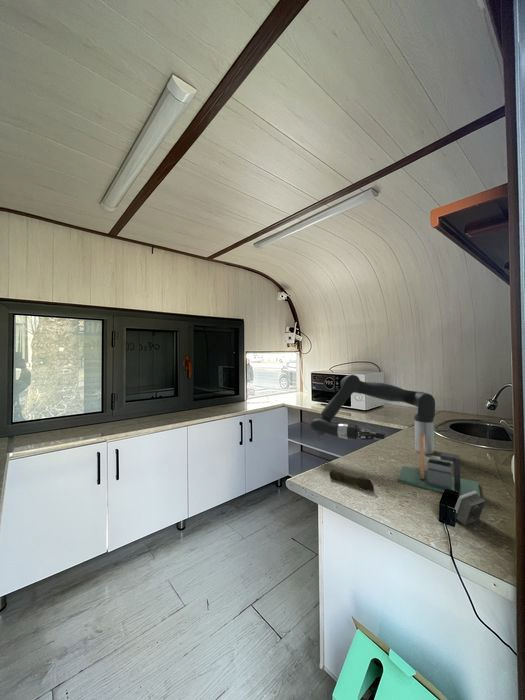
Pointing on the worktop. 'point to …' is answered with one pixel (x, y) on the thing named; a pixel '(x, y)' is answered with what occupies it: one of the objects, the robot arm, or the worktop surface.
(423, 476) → the upright wooden plank
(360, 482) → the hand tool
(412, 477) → the base
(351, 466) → the worktop surface
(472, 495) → the electrical switch
